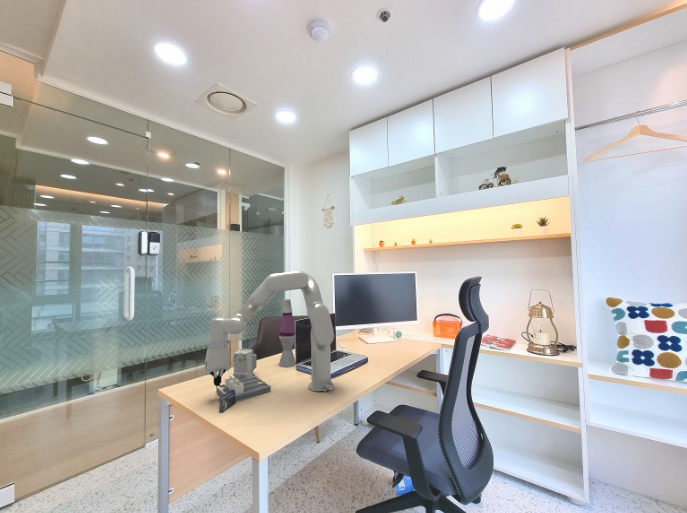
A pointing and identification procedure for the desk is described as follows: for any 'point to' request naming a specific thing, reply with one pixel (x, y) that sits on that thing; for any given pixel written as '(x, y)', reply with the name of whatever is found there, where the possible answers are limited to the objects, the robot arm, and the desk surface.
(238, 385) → the tab
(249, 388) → the switch bank
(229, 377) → the tab
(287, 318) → the lamp
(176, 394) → the desk surface
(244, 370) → the circuit breaker
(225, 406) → the mini dv tape
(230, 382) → the tab
